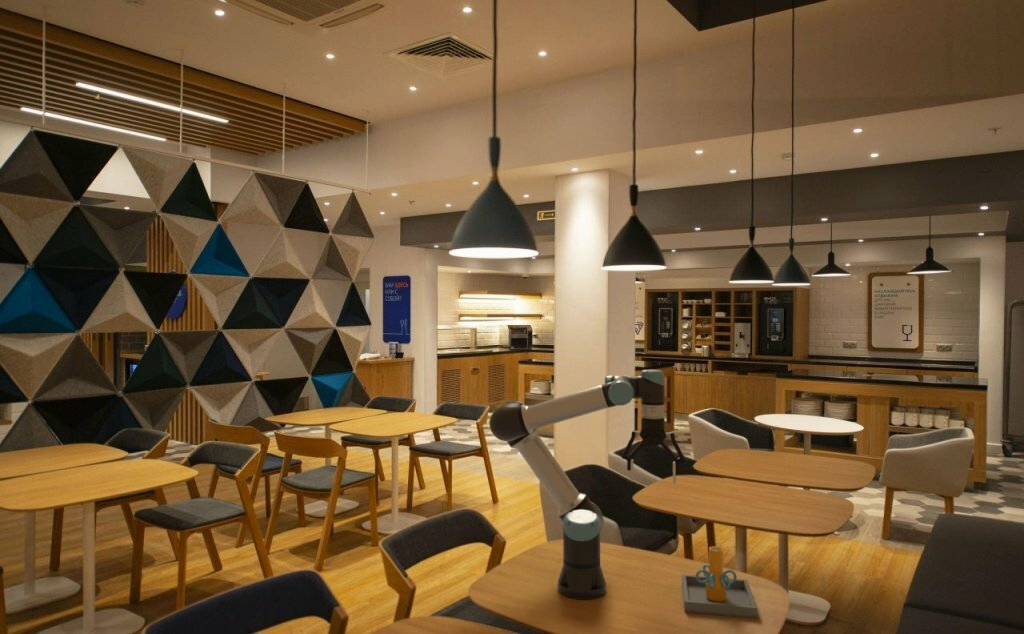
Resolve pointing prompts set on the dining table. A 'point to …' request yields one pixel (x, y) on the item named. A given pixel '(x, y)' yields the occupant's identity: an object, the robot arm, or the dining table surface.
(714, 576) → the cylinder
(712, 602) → the tray
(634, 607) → the dining table surface
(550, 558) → the dining table surface
